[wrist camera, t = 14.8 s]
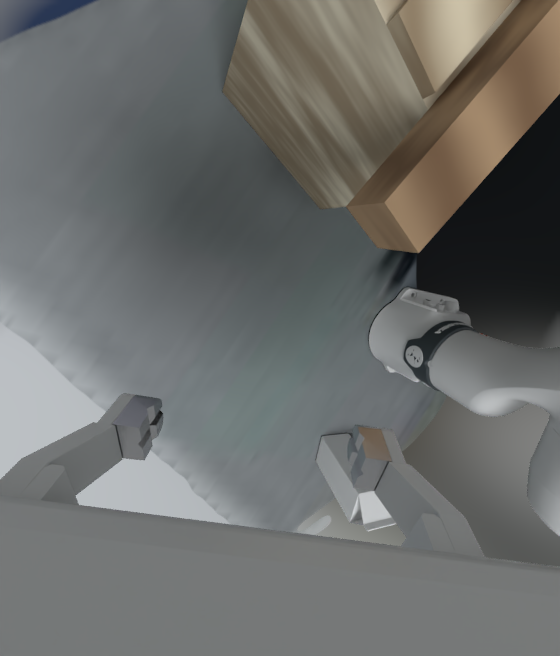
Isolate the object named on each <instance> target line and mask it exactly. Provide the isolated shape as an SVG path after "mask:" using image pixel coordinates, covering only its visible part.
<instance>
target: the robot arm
mask: <svg viewBox="0 0 560 656" xmlns="http://www.w3.org/2000/svg"><path fill="white" fill-rule="evenodd" d="M411 294H412V295H411ZM369 346H370V350H371V352H372V354H373V355H374V356H375V357H376V358H377V359H378V360H380V361H381V362H382V363H383V365H384V367H385V369H386V370H387V371H389V372H391V373H393V372H398V373H400V374H402V375H404V376H405V377H407V378H409V379H411V380H413V381H415V382H418V381H421V382H422V383H424V384H425V385H427V386H428V387H430V388H433V389H434V390H437V391H442V392H443V393H445V394H446V395H448V396H450V397H451V398H452V399H454V400H455V401H457V402H459V403H460V404H462V405H463V406H465V407H466V408H468V409H470V410H471V411H472V412H474V413H477V414H480V415H484V416H489V417H499V416H504V415H508V414H510V413H513V412H515V411H517V410H519V409H521V408H522V407H524V406H525V405H527V404H528V403H531V404H534V405H536V406H538V407H540V408H542V409H544V410H545V411H547V412H548V413H549V414H550V416H549V421H548V424H547V426H546V428H545V430H544V432H543V435H542V436H541V439H540V441H539V443H538V445H537V448H536V450H535V452H534V454H533V456H532V458H531V461H530V467H529V475H528V484H527V497H528V500H529V503H530V505H531V507H532V508H533V510H534V511H535V512H536V513H537V515H538V516H539V517H540V519H541V520H542V521H543V522H544V523H545V524H546V525H547V526H548V527H549V528H550V529H551V530H552V531H554V532H555V533H556V534H557V535H558V536H560V347H554V348H528V347H522V346H518V345H514V344H511V343H507V342H503V341H500V340H497V339H494V338H491V337H488V336H487V335H483V334H482V333H481V334H480V333H479V332H478V331H476V330H475V329H473V327H471V321H470V317H469V316H468V315H467V314H466V313H463V312H460V311H459V304H458V300H457V299H454V298H452V297H448V296H443V295H439V294H435V293H430V292H426V291H422V290H418V289H413V288H409V287H406V288H404V289H403V290H402V291H401V292H400V293H399V295H398V296H397V297H396V299H395V300H394V301H392V302H391V303H390V304H388V305H387V306H386V307H385V308H383V309H382V310H381V312H380V313H379V314H378V315H377V317H376V318H375V320H374V322H373V324H372V327H371V330H370V334H369ZM161 407H162V400H161V399H159V398H153V397H147V396H140V395H133V394H127V393H123V394H122V395H120V396H119V397H118V399H117V400H116V401H115V402H114V403H113V405H112V406H111V407H110V408H109V409H108V411H107V412H106V413H105V414H104V415H103V417H102V418H101V419H100V420H99V421H98V422H97V423H94V422H93V423H91V424H89V425H87V426H85V427H83V428H81V429H79V430H77V431H76V432H73V433H72V434H70V435H68V436H66V437H64V438H62V439H60V440H58V441H56V442H54V443H52V444H50V445H48V446H46V447H44V448H42V449H40V450H38V451H36V452H34V453H32V454H30V455H28V456H26V457H24V458H22V459H21V460H20V461H19V462H18V463H17V464H16V465H15V466H14V467H13V468H12V469H11V470H10V471H9V472H8V473H7V474H6V475H5V476H4V477H3V478H2V479H1V480H0V656H560V567H557V566H549V565H541V564H533V563H525V562H518V561H510V560H502V559H494V558H487V557H485V556H484V554H483V552H482V550H481V548H480V546H479V544H478V542H477V540H476V538H475V536H474V534H473V532H472V530H471V528H470V526H469V524H468V522H467V520H466V518H465V517H464V516H463V515H462V514H461V513H460V512H459V511H458V510H457V509H456V508H455V507H454V506H452V504H451V503H449V502H448V501H447V500H446V499H445V498H444V497H443V496H442V495H441V494H440V493H439V492H438V491H437V490H436V489H435V488H434V487H433V486H432V485H431V484H430V483H429V482H428V481H426V479H425V478H423V477H422V476H421V475H420V474H419V473H418V472H417V471H416V470H415V469H414V468H413V467H412V466H411V465H409V464H406V462H405V459H404V457H403V454H402V452H401V449H400V447H399V444H398V442H397V439H396V437H395V434H394V432H393V430H392V429H385V428H377V427H369V426H361V425H355V426H354V428H353V430H352V432H353V437H351V438H350V439H349V442H348V447H347V457H348V462H349V463H350V464H351V466H352V469H351V472H350V473H351V478H352V483H353V488H357V489H364V490H370V491H375V492H374V493H375V494H376V496H377V497H378V498H379V500H380V501H381V503H382V504H383V505H384V507H385V508H386V510H387V511H388V512H389V514H390V515H391V517H392V518H393V520H394V521H395V522H396V524H397V525H398V527H399V528H400V529H401V531H402V532H403V534H404V535H405V536H406V539H405V541H404V542H403V544H402V546H393V545H386V544H378V543H370V542H362V541H355V540H347V539H339V538H331V537H323V536H316V535H308V534H300V533H292V532H285V531H277V530H269V529H261V528H253V527H246V526H238V525H230V524H222V523H214V522H207V521H199V520H191V519H182V518H175V517H168V516H160V515H152V514H144V513H137V512H128V511H121V510H113V509H106V508H97V507H90V506H82V505H79V504H78V501H77V499H76V496H75V495H77V494H78V493H79V492H81V491H82V490H83V489H85V488H86V487H87V486H88V485H90V484H91V483H92V482H94V481H95V480H96V479H97V478H99V477H100V476H101V475H103V474H104V473H105V472H107V471H108V470H109V469H111V468H112V467H113V466H114V465H116V464H117V463H118V462H120V461H121V460H122V458H126V459H136V460H145V458H146V456H147V455H148V453H149V451H150V449H151V447H152V440H153V439H154V438H156V437H157V436H158V435H159V433H160V431H161V428H162V425H163V413H162V412H161V411H160V409H161Z"/></svg>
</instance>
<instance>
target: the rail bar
mask: <svg viewBox="0 0 560 656" xmlns="http://www.w3.org/2000/svg"><path fill="white" fill-rule="evenodd" d="M559 94H560V0H521V1H520V2H519V4H518V5H517V6H516V7H515V8H514V9H513V11H512V12H511V13H510V14H509V15H508V16H507V18H506V19H505V20H504V21H503V22H502V24H501V25H500V26H499V27H498V28H497V29H496V31H495V32H494V33H493V34H492V35H491V36H490V38H489V39H488V40H487V41H486V42H485V44H484V45H483V46H482V47H481V48H480V49H479V51H478V52H477V53H476V54H475V55H474V56H473V58H472V59H471V60H470V61H469V62H468V64H467V65H466V66H465V67H464V68H463V69H462V71H461V72H460V73H459V74H458V75H457V76H456V78H455V79H454V80H453V81H452V82H451V84H450V85H449V86H448V87H447V88H446V89H445V91H444V92H443V93H442V94H441V95H440V96H439V98H438V99H437V100H436V101H435V102H434V104H433V105H432V106H431V107H430V108H429V109H428V111H427V112H426V113H425V114H424V115H423V116H422V118H421V119H420V120H419V121H418V122H417V124H416V125H415V126H414V127H413V128H412V129H411V131H410V132H409V133H408V134H407V135H406V136H405V138H404V139H403V140H402V141H401V142H400V144H399V145H398V146H397V147H396V148H395V149H394V151H393V152H392V153H391V154H390V155H389V156H388V158H387V159H386V160H385V161H384V162H383V164H382V165H381V166H380V167H379V168H378V169H377V171H376V172H375V173H374V174H373V175H372V176H371V178H370V179H369V180H368V181H367V182H366V184H365V185H364V186H363V187H362V188H361V189H360V191H359V192H358V193H357V194H356V195H355V196H354V198H353V199H352V200H351V201H350V202H349V204H348V205H347V206H346V207H347V209H348V210H349V211H350V213H351V214H352V215H353V217H354V218H355V219H356V220H357V222H358V223H359V224H360V226H361V227H362V228H363V230H364V231H365V232H366V234H367V235H368V236H369V237H370V239H371V240H372V241H373V243H374V244H375V245H376V247H377V248H382V249H390V250H398V251H406V252H414V253H419V252H420V251H421V249H423V248H424V247H425V245H426V244H427V243H428V242H429V241H430V240H431V239H432V237H433V236H434V235H435V234H436V233H437V232H438V231H439V230H440V228H441V227H442V226H443V225H444V224H445V223H446V221H447V220H448V219H449V218H450V217H451V216H452V215H453V214H454V213H455V211H456V210H457V209H458V208H459V207H460V206H461V205H462V204H463V202H464V201H465V200H466V199H467V198H468V197H469V196H470V194H471V193H472V192H473V191H474V190H475V189H476V188H477V187H478V185H479V184H480V183H481V182H482V181H483V180H484V179H485V177H486V176H487V175H488V174H489V173H490V172H491V171H492V170H493V168H494V167H495V166H496V165H497V164H498V163H499V161H500V160H501V159H502V158H503V157H504V156H505V155H506V154H507V152H508V151H509V150H510V149H511V148H512V147H513V146H514V144H515V143H516V142H517V141H518V140H519V139H520V138H521V137H522V136H523V134H524V133H525V132H526V131H527V130H528V129H529V127H530V126H531V125H532V124H533V123H534V122H535V121H536V120H537V119H538V117H539V116H540V115H541V114H542V113H543V112H544V111H545V109H546V108H547V107H548V106H549V105H550V104H551V103H552V101H553V100H554V99H555V98H556V97H557V96H558V95H559Z"/></svg>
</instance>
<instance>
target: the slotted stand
mask: <svg viewBox="0 0 560 656" xmlns="http://www.w3.org/2000/svg"><path fill="white" fill-rule="evenodd" d="M520 1H521V0H248V2H247V6H246V9H245V13H244V16H243V20H242V23H241V27H240V31H239V34H238V38H237V41H236V45H235V48H234V52H233V55H232V59H231V62H230V66H229V69H228V73H227V77H226V80H225V84H224V87H223V91H222V92H223V93H224V94H225V96H226V97H227V98H228V99H229V100H230V102H231V103H232V104H233V105H234V106H235V108H236V109H237V110H238V111H239V112H240V114H241V115H242V116H243V117H244V118H245V120H246V121H247V122H248V123H249V124H250V126H251V127H252V128H253V129H254V130H255V132H256V133H257V134H258V135H259V136H260V138H261V139H262V140H263V141H264V142H265V143H266V145H267V146H268V147H269V148H270V149H271V151H272V152H273V153H274V154H275V155H276V157H277V158H278V159H279V160H280V161H281V163H282V164H283V165H284V166H285V167H286V169H287V170H288V171H289V172H290V173H291V175H292V176H293V177H294V178H295V179H296V181H297V182H298V183H299V184H300V185H301V187H302V188H303V189H304V190H305V191H306V193H307V194H308V195H309V196H310V197H311V199H312V200H313V201H314V202H315V203H316V205H317V206H318V207H319V208H320V209H328V208H337V207H346V206H347V205H348V204H349V202H350V201H351V200H352V199H353V198H354V196H355V195H356V194H357V193H358V192H359V191H360V189H361V188H362V187H363V186H364V185H365V184H366V182H367V181H368V180H369V179H370V178H371V176H372V175H373V174H374V173H375V172H376V171H377V169H378V168H379V167H380V166H381V165H382V164H383V162H384V161H385V160H386V159H387V158H388V156H389V155H390V154H391V153H392V152H393V151H394V149H395V148H396V147H397V146H398V145H399V144H400V142H401V141H402V140H403V139H404V138H405V136H406V135H407V134H408V133H409V132H410V131H411V129H412V128H413V127H414V126H415V125H416V124H417V122H418V121H419V120H420V119H421V118H422V116H423V115H424V114H425V113H426V112H427V111H428V109H429V108H430V107H431V106H432V105H433V104H434V102H435V101H436V100H437V99H438V98H439V96H440V95H441V94H442V93H443V92H444V91H445V89H446V88H447V87H448V86H449V85H450V84H451V82H452V81H453V80H454V79H455V78H456V76H457V75H458V74H459V73H460V72H461V71H462V69H463V68H464V67H465V66H466V65H467V64H468V62H469V61H470V60H471V59H472V58H473V56H474V55H475V54H476V53H477V52H478V51H479V49H480V48H481V47H482V46H483V45H484V44H485V42H486V41H487V40H488V39H489V38H490V36H491V35H492V34H493V33H494V32H495V31H496V29H497V28H498V27H499V26H500V25H501V24H502V22H503V21H504V20H505V19H506V18H507V16H508V15H509V14H510V13H511V12H512V11H513V9H514V8H515V7H516V6H517V5H518V4H519V2H520Z"/></svg>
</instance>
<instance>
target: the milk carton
mask: <svg viewBox="0 0 560 656" xmlns="http://www.w3.org/2000/svg"><path fill="white" fill-rule="evenodd" d="M350 438H351V436H350V435H349V434H348V433H346V434H337V435H328V436H322V437H321V441H320V446H319V450H318V454H317V458H316V462H317V464H318V466H319V468H320V470H321V472H322V473H323V475H324V477H325V479H326V481H327V482H328V484H329V486H330V488H331V490H332V491H333V493H334V495H335V497H336V499H337V501H338V502H339V504H340V506H341V508H342V510H343V511H344V513H345V515H346V516H347V519H348V520H349V522H350V523H354V524H360V525H364V527H365V529H366V530H367V531H371V530H375V529H378V528H382V527H386V526H390V525H393V524H396V522H395V521H394V520H393V518H392V517H391V515H390V514H389V512H388V511H387V510H386V508H385V507H384V505H383V504H382V503H381V501H380V500H379V498H378V497H377V496H376V494H375V493H374V492H375V491H370V490H364V489H357V488H353V483H352V478H351V473H350V472H351V469H352V466H351V464H350V463H349V462H348V457H347V447H348V442H349V439H350Z"/></svg>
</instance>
